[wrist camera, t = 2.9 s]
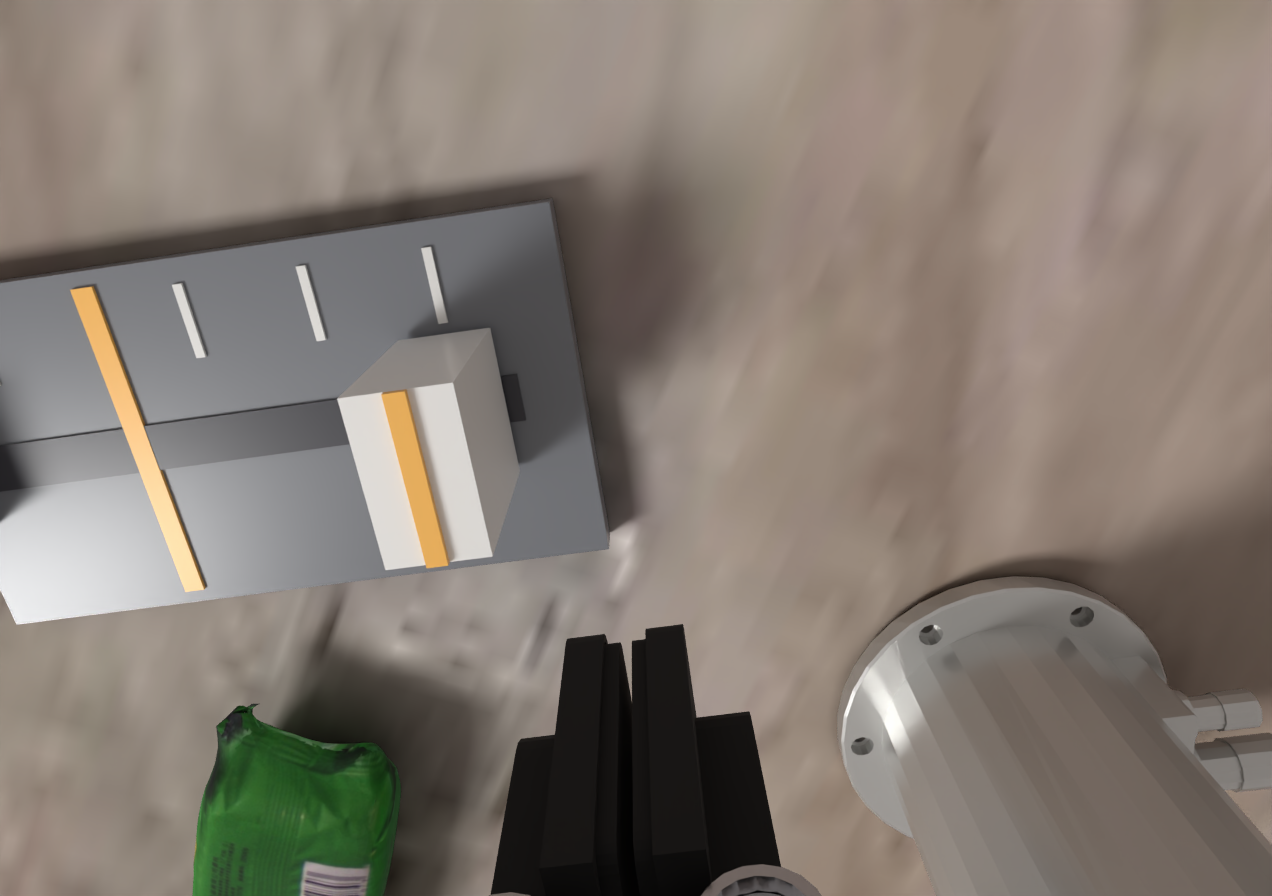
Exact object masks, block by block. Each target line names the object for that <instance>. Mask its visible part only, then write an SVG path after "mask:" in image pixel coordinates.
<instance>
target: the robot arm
mask: <svg viewBox="0 0 1272 896" xmlns="http://www.w3.org/2000/svg"><path fill="white" fill-rule="evenodd" d="M1262 721H1263V720H1262V710H1261V707H1260V704H1259V702H1258V700H1257V699H1256V697H1255V696H1254V695H1253V693H1252V692H1250V691H1249V690H1247V689H1236V690H1227V691H1219V692H1210V693H1206V694H1205V695H1200V696H1192V697H1186V696H1185V695H1184V694H1183V693H1182V692H1180V691H1177V690H1171V689H1170V688H1169V686H1168V685H1167V677H1166V675H1165V672H1164V669H1163V666H1162V663H1161V660H1160V657H1159V654H1158V653H1157V651H1156V650H1155V648H1154V647H1153V645H1152V644H1151V642H1150V641H1149V639H1148V638H1147V636H1146V635H1145V633H1144V632H1143V631H1142V630H1141V629H1140V628H1139V627H1138V626H1137V625H1136V624H1135V623H1134V622H1133V621H1132V620H1131V619H1130V618H1129V617H1128V616H1127V615H1126V614H1125V613H1124V612H1123V611H1122V610H1120V609H1119V608H1117V607H1116V606H1115V605H1113V604H1112V603H1111V602H1109V601H1108V600H1106V599H1105V598H1104V597H1102V596H1100V595H1098V594H1096V593H1094V592H1091V591H1089V590H1087V589H1084V588H1082V587H1080V586H1078V585H1075V584H1071V583H1067V582H1062V581H1058V580H1053V579H1049V578H1041V577H1018V576H1012V577H1003V578H995V579H987V580H980V581H976V582H973V583H970V584H966V585H963V586H959V587H956V588H952V589H949V590H947V591H945V592H942V593H940V594H938V595H936V596H934V597H932V598H930V599H927V600H925V601H923V602H921V603H919V604H917V605H916V606H915V607H913V608H912V609H910V610H909V611H907V612H906V613H904V614H903V615H901V616H900V617H898V618H897V619H895V620H894V621H893V622H892V623H891V624H889V625H888V626H887V627H886V628H885V629H884V630H883V631H882V632H881V633H880V634H879V635H878V636H877V637H876V638H875V639H874V640H873V641H872V642H871V643H870V644H869V646H868V647H867V648H866V650H865V651H864V653H863V654H862V655H861V657H860V658H859V659H858V661H857V662H856V664H855V665H854V667H853V669H852V671H851V673H850V675H849V678H848V680H847V682H846V684H845V686H844V688H843V691H842V696H841V700H840V705H839V709H838V714H837V739H838V743H839V747H840V751H841V755H842V759H843V763H844V766H845V768H846V771H847V773H848V776H849V778H850V781H851V784H852V786H853V788H854V789H855V791H856V792H857V794H858V795H859V797H860V798H861V799H862V801H863V802H864V804H865V805H866V807H868V808H869V809H870V810H871V811H872V812H873V813H874V814H875V815H876V816H877V817H878V818H880V819H881V820H882V821H883V822H884V823H885V824H887V825H889V826H890V827H892V828H894V829H895V830H897V831H899V832H900V833H902V834H904V835H905V836H908V837H910V838H913V839H914V840H915V842H916V845H917V848H918V850H919V853H920V855H921V858H922V861H923V863H924V866H925V868H926V871H927V874H928V876H929V879H930V881H931V884H932V886H933V889H934V892H935V894H936V896H1272V844H1271V843H1270V842H1269V841H1268V840H1267V839H1266V838H1265V836H1264V835H1263V834H1262V833H1261V832H1260V831H1259V830H1258V828H1257V827H1256V826H1255V825H1254V824H1253V823H1252V822H1251V820H1250V819H1249V818H1248V817H1247V816H1246V815H1245V813H1244V812H1243V811H1242V810H1241V809H1240V808H1239V807H1238V805H1237V804H1236V803H1235V802H1234V801H1233V800H1232V799H1231V797H1230V796H1229V795H1228V794H1227V793H1226V792H1225V791H1224V790H1232V791H1234V792H1244V791H1253V790H1262V789H1271V788H1272V734H1270V733H1259V734H1250V735H1241V736H1233V737H1224V738H1215V740H1214V741H1213V742H1204V743H1195V738H1196V737H1197V735H1198V732H1202V731H1211V730H1218V731H1228V730H1236V729H1245V728H1254V727H1260V725H1261V723H1262ZM489 896H821V894H820V893H819V891H818V890H817V888H816V887H814V886H813V885H812V884H811V883H810V882H808V881H807V880H806V879H805V878H804V877H802V876H801V875H799V874H797V873H794V872H792V871H790V870H788V869H785V868H783V867H781V864H780V859H779V854H778V849H777V844H776V839H775V834H774V829H773V824H772V819H771V814H770V809H769V805H768V800H767V795H766V790H765V785H764V780H763V775H762V770H761V765H760V760H759V755H758V750H757V745H756V740H755V735H754V730H753V725H752V720H751V715H750V712H741V713H732V714H724V715H716V716H707V717H699V718H696V711H695V704H694V697H693V690H692V683H691V676H690V669H689V662H688V655H687V648H686V641H685V634H684V627H683V624H681V625H673V626H665V627H657V628H649V629H646V639H644V640H636V641H632V701H631V695H630V689H629V683H628V678H627V672H626V666H625V661H624V655H623V650H622V645H621V643H612V644H608V642H607V639H606V636H605V634H601V635H593V636H585V637H577V638H570V639H567V641H566V646H565V655H564V663H563V672H562V680H561V689H560V697H559V706H558V714H557V722H556V731H555V735H549V736H541V737H533V738H525V739H521V740H520V741H519V742H518V745H517V749H516V754H515V759H514V765H513V771H512V776H511V782H510V788H509V793H508V799H507V805H506V810H505V816H504V822H503V827H502V833H501V839H500V844H499V850H498V856H497V862H496V867H495V873H494V879H493V884H492V890H491V895H489Z"/></svg>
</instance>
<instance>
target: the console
mask: <svg viewBox="0 0 1272 896" xmlns="http://www.w3.org/2000/svg"><path fill="white" fill-rule="evenodd" d="M483 328H490V329H491V334H492V339H493V344H494V349H495V353H496V358H497V363H498V368H499V373H500V377H501V382H502V387H503V392H504V397H505V402H506V406H507V411H508V416H509V421H510V426H511V431H512V435H513V440H514V445H515V450H516V455H517V459H518V464H519V469H520V473H519V476H518V479H517V482H516V485H515V488H514V492H513V495H512V498H511V501H510V504H509V507H508V510H507V513H506V517H505V520H504V523H503V526H502V529H501V532H500V535H499V539H498V542H497V545H496V548H495V551H494V554H493V557H486V558H478V559H470V560H462V561H454V562H450V563H449V565H448V566H442V567H434V568H426V565H423V566H415V567H407V568H400V569H392V570H385V567H384V563H383V560H382V556H381V553H380V549H379V545H378V542H377V538H376V535H375V531H374V528H373V524H372V521H371V517H370V514H369V510H368V506H367V503H366V499H365V496H364V492H363V489H362V485H361V482H360V478H359V474H358V471H357V467H356V464H355V460H354V457H353V453H352V450H351V446H350V443H349V439H348V435H347V432H346V428H345V425H344V421H343V418H342V414H341V411H340V407H339V404H338V400H337V398H338V397H339V396H340V395H341V394H342V393H344V392H345V391H346V390H347V389H348V388H349V387H350V386H351V385H352V384H353V383H354V382H355V381H356V380H357V379H358V378H359V377H360V376H361V375H362V374H363V373H364V372H365V371H366V370H368V369H369V368H370V367H371V366H372V365H373V364H374V363H375V362H376V361H377V360H378V359H379V358H380V357H381V356H382V355H383V354H384V353H385V352H386V351H387V350H388V349H389V348H391V347H392V346H393V345H394V344H395V343H396V342H397V341H398V340H405V339H412V338H419V337H426V336H433V335H440V334H448V333H455V332H462V331H469V330H476V329H483ZM609 540H610V531H609V525H608V520H607V514H606V508H605V502H604V496H603V490H602V484H601V479H600V473H599V467H598V461H597V455H596V449H595V443H594V438H593V432H592V426H591V420H590V414H589V408H588V403H587V397H586V391H585V385H584V379H583V373H582V367H581V362H580V356H579V350H578V344H577V338H576V332H575V327H574V321H573V315H572V309H571V303H570V297H569V291H568V286H567V280H566V274H565V268H564V262H563V256H562V250H561V245H560V239H559V233H558V227H557V221H556V215H555V210H554V204H553V198H551V199H545V200H538V201H531V202H524V203H518V204H511V205H504V206H497V207H491V208H484V209H477V210H471V211H464V212H457V213H450V214H444V215H437V216H430V217H423V218H417V219H410V220H403V221H396V222H390V223H383V224H376V225H369V226H363V227H356V228H349V229H342V230H336V231H329V232H322V233H315V234H309V235H302V236H295V237H289V238H282V239H275V240H268V241H262V242H255V243H248V244H241V245H235V246H228V247H221V248H214V249H208V250H201V251H194V252H187V253H181V254H174V255H167V256H160V257H154V258H147V259H140V260H133V261H127V262H120V263H113V264H107V265H100V266H93V267H86V268H80V269H73V270H66V271H59V272H53V273H46V274H39V275H32V276H26V277H19V278H12V279H5V280H0V590H1V592H2V594H3V596H4V598H5V601H6V603H7V605H8V607H9V609H10V611H11V613H12V615H13V618H14V620H15V622H16V624H25V623H33V622H40V621H48V620H56V619H64V618H72V617H80V616H88V615H95V614H103V613H111V612H119V611H127V610H135V609H142V608H150V607H158V606H166V605H174V604H182V603H189V602H197V601H205V600H213V599H221V598H229V597H236V596H244V595H252V594H260V593H268V592H276V591H283V590H291V589H299V588H307V587H315V586H323V585H330V584H338V583H346V582H354V581H362V580H370V579H377V578H385V577H393V576H401V575H409V574H417V573H424V572H432V571H440V570H448V569H456V568H464V567H472V566H479V565H487V564H495V563H503V562H511V561H519V560H526V559H534V558H542V557H550V556H558V555H566V554H573V553H581V552H589V551H597V550H605V549H609Z"/></svg>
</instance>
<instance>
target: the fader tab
mask: <svg viewBox="0 0 1272 896" xmlns="http://www.w3.org/2000/svg"><path fill="white" fill-rule="evenodd" d="M337 400H338V404H339V407H340V411H341V414H342V418H343V421H344V425H345V428H346V432H347V435H348V439H349V443H350V446H351V450H352V453H353V457H354V460H355V464H356V467H357V471H358V474H359V478H360V482H361V485H362V489H363V492H364V496H365V499H366V503H367V506H368V510H369V514H370V517H371V521H372V524H373V528H374V531H375V535H376V538H377V542H378V545H379V549H380V553H381V556H382V560H383V563H384V567H385V570H392V569H400V568H407V567H415V566H423V565H426V568H434V567H442V566H448V565H449V563H450V562H454V561H462V560H470V559H478V558H486V557H493V554H494V551H495V548H496V545H497V542H498V539H499V535H500V532H501V529H502V526H503V523H504V520H505V517H506V513H507V510H508V507H509V504H510V501H511V498H512V495H513V492H514V488H515V485H516V482H517V479H518V476H519V473H520V469H519V464H518V459H517V455H516V450H515V445H514V440H513V435H512V431H511V426H510V421H509V416H508V411H507V406H506V402H505V397H504V392H503V387H502V382H501V377H500V373H499V368H498V363H497V358H496V353H495V349H494V344H493V339H492V334H491V329H490V328H483V329H476V330H469V331H462V332H455V333H448V334H440V335H433V336H426V337H419V338H412V339H405V340H398V341H397V342H396V343H395V344H394V345H393V346H392V347H391V348H389V349H388V350H387V351H386V352H385V353H384V354H383V355H382V356H381V357H380V358H379V359H378V360H377V361H376V362H375V363H374V364H373V365H372V366H371V367H370V368H369V369H368V370H366V371H365V372H364V373H363V374H362V375H361V376H360V377H359V378H358V379H357V380H356V381H355V382H354V383H353V384H352V385H351V386H350V387H349V388H348V389H347V390H346V391H345V392H344V393H342V394H341V395H340V396H339V397H338V398H337Z"/></svg>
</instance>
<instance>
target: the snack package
mask: <svg viewBox="0 0 1272 896" xmlns="http://www.w3.org/2000/svg"><path fill="white" fill-rule="evenodd" d="M256 705H258V704H251V705H250V706H248V707H245V706H237V707H236V708H235V709H234V710H233V711H232V712H231V713H230V714H229V715H228V716H227V717H226V718H225V719H224V720H223V721H222V722H221V723H219V724H218V725H217V727H216V728H217V736H218V751H217V757H216V762H215V765H214V768H213V771H212V773H211V776H210V779H209V781H208V783H207V785H206V788H205V791H204V795H203V798H202V802H201V807H200V812H199V817H198V825H197V835H196V845H195V855H194V881H193V896H384V892H385V888H386V883H387V879H388V875H389V870H390V865H391V859H392V854H393V849H394V842H395V835H396V829H397V820H398V813H399V807H400V798H401V785H400V779H399V775H398V771H397V768H396V766H395V765H394V764H393V763H392V762H391V761H390V760H389V759H388V758H387V756H386V754H385V753H384V751H383V750H382V749H381V748H380V747H379V746H378V745H377V744H375V743H350V744H331V743H322V742H318V741H314V740H310V739H307V738H304V737H301V736H298V735H295V734H293V733H290V732H286V731H283V730H280V729H278V728H275V727H273V726H270V725H268V724H265V723H263V722H260V721H259V720H257V719H256V718H255V717H254V716H253V714H252V710H253V707H255V706H256ZM244 712H245V713H244Z"/></svg>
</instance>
